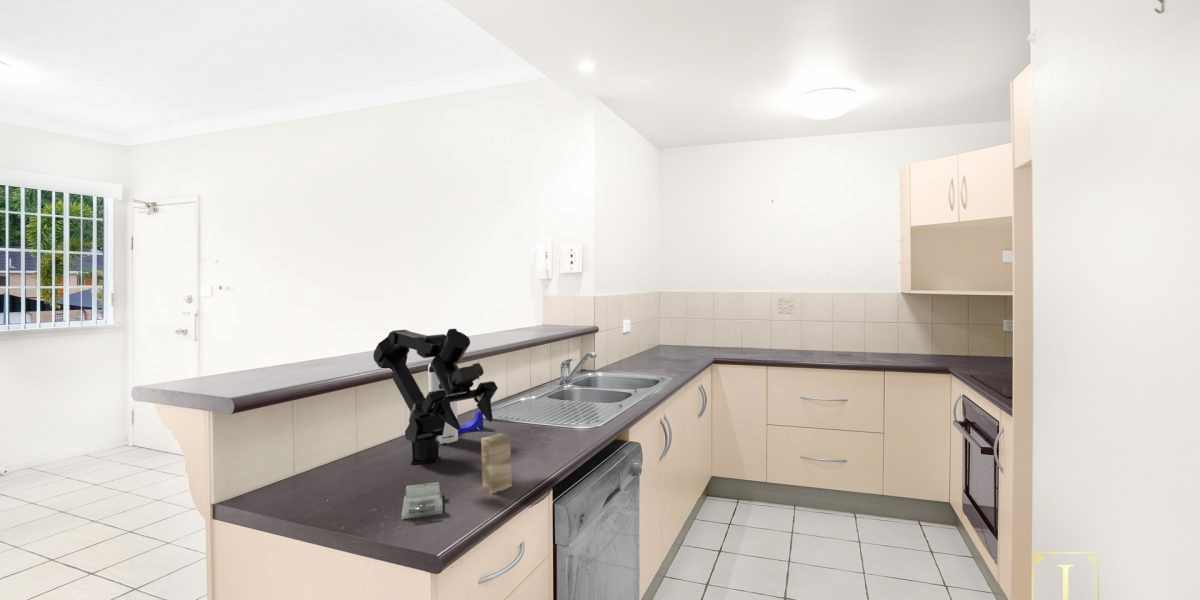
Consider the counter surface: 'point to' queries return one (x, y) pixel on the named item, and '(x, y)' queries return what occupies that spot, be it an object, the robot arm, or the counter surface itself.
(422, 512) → the frosted green stand
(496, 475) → the beech block
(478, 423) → the blue curved bracket
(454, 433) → the bottle
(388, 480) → the counter surface
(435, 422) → the robot arm
